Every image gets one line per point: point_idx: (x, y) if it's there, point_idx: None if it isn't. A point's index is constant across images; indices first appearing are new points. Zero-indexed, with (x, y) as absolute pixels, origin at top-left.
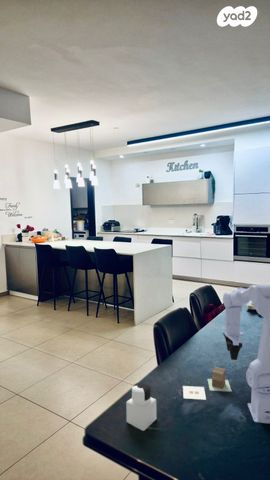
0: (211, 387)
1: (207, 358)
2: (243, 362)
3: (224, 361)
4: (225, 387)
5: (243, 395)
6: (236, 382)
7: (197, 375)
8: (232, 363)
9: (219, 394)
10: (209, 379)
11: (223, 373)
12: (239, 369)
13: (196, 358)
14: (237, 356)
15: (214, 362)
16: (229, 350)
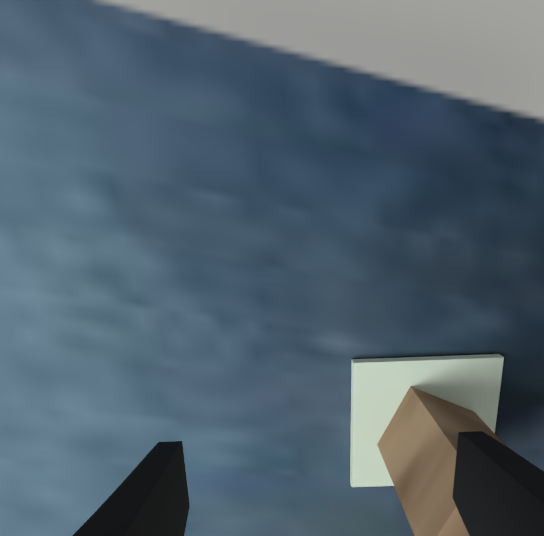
0: None
1: (40, 461)
2: (27, 193)
3: (54, 347)
4: (454, 390)
5: (534, 283)
6: (367, 303)
7: (300, 531)
8: (72, 290)
9: (518, 427)
10: (359, 476)
11: None
12: (164, 249)
13: (63, 529)
14: (541, 472)
15: (92, 420)
16: (185, 493)
